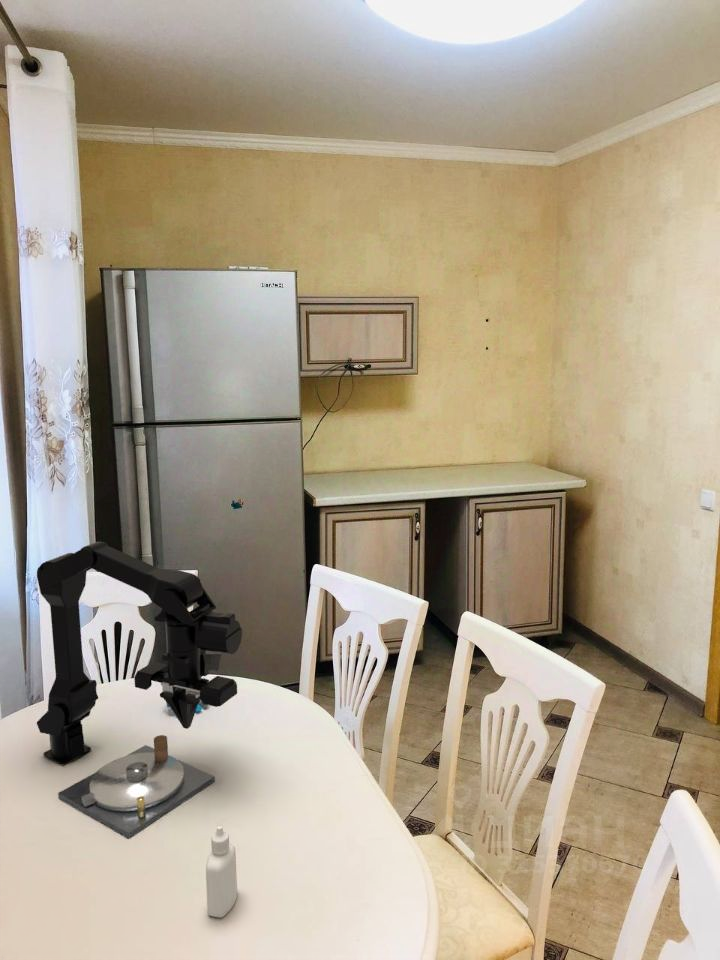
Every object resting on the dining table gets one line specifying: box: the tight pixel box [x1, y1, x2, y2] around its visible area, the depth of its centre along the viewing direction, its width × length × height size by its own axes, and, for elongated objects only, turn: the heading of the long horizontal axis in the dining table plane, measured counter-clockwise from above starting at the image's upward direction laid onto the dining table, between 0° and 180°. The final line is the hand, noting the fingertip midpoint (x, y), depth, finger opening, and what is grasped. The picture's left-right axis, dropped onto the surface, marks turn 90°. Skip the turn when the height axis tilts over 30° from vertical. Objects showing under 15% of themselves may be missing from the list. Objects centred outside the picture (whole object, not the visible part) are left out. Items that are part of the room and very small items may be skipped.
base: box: [57, 744, 216, 839], centre depth 129 cm, size 19×19×4 cm
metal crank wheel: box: [82, 734, 184, 811], centre depth 128 cm, size 16×18×5 cm
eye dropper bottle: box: [205, 825, 238, 918], centre depth 101 cm, size 4×6×12 cm
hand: (187, 727), depth 131 cm, fingers closed
